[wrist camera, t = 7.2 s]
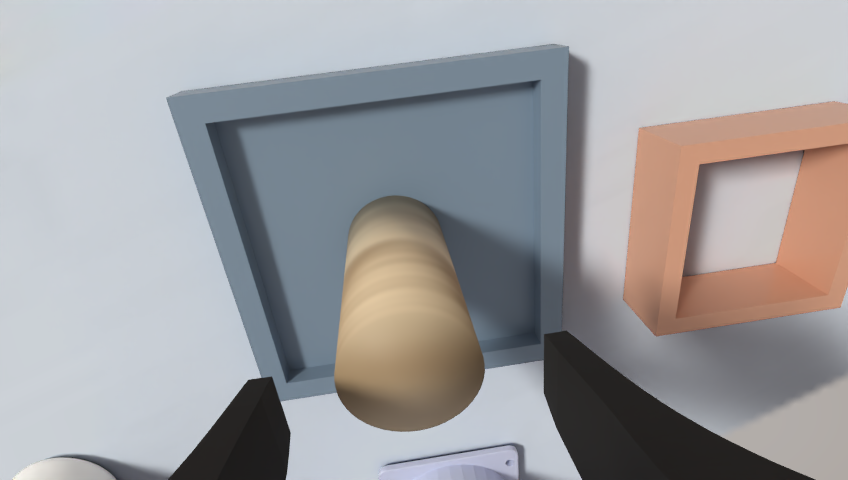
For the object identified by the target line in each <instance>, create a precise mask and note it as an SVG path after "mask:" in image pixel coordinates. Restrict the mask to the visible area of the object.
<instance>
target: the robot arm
mask: <svg viewBox="0 0 848 480" xmlns="http://www.w3.org/2000/svg"><path fill="white" fill-rule="evenodd" d="M544 394H545V397H546V400H547V403H548V406H549V409H550V411H551V414H552V417H553V420H554V422H555V425H556V428H557V430H558V432H559V434H560V436H561V438H562V440H563V442H564V444H565V446H566V448H567V450H568V452H569V454H570V456H571V458H572V460H573V462H574V464H575V466H576V468H577V470H578V472H579V474H580V476H581V478H582V480H815V479H813V478H810V477H808V476H805V475H803V474H800V473H798V472H795V471H793V470H791V469H789V468H786V467H784V466H781V465H779V464H777V463H775V462H772V461H770V460H768V459H766V458H764V457H761V456H759V455H757V454H755V453H753V452H751V451H748V450H747V449H745V448H743V447H740V446H738V445H736V444H734V443H732V442H730V441H728V440H726V439H724V438H722V437H720V436H719V435H717V434H715V433H713V432H711V431H709V430H707V429H706V428H704V427H702V426H700V425H699V424H697V423H695V422H693V421H692V420H690V419H688V418H686V417H685V416H683V415H681V414H679V413H678V412H676V411H675V410H673V409H671V408H670V407H668V406H667V405H665V404H663V403H662V402H660V401H659V400H657V399H656V398H654V397H653V396H651V395H650V394H648V393H647V392H645V391H644V390H642V389H641V388H640V387H638V386H637V385H635V384H634V383H633V382H631V381H630V380H629V379H627V378H626V377H625V376H623V375H622V374H621V373H619V372H618V371H617V370H615V369H614V368H613V367H611V366H610V365H609V364H607V363H606V362H605V361H604V360H602V359H601V358H600V357H599V356H597V355H596V354H595V353H594V352H592V351H591V350H590V349H589V348H587V347H586V346H585V345H584V344H583V343H581V342H580V341H579V340H578V339H576V338H575V337H574V336H573V335H571V334H570V333H569V332H567V331H561V332H555V333H548V334H544ZM290 434H291V433H290V430H289V427H288V424H287V421H286V418H285V415H284V411H283V408H282V405H281V402H280V399H279V396H278V393H277V390H276V387H275V384H274V381H273V378H272V376H271V377H264V378H258V379H251V380H248V381H247V383H246V384H245V385H244V386H243V388H242V389H241V390H240V391H239V393H238V394H237V395H236V397H235V398H234V399H233V400H232V402H231V403H230V404H229V406H228V407H227V408H226V410H225V411H224V412H223V414H222V415H221V416H220V417H219V419H218V420H217V421H216V423H215V424H214V425H213V426H212V428H211V429H210V430H209V431H208V433H207V434H206V435H205V436H204V438H203V439H202V440H201V442H200V443H199V444H198V445H197V447H196V448H195V449H194V450H193V451H192V453H191V454H190V455H189V456H188V457H187V458H186V460H185V461H184V462H183V463H182V464H181V465H180V467H179V468H178V469H177V470H176V471H175V472H174V473H173V475H172V476H171V477H170V478H169V479H168V480H286V475H287V467H288V458H289V446H290ZM379 480H519V467H518V453H517V450H516V448H515V447H514V446H511V445H507V446H501V447H495V448H489V449H483V450H477V451H471V452H465V453H459V454H453V455H447V456H441V457H435V458H429V459H423V460H417V461H411V462H404V463H398V464H392V465H386V466H383V467H382V468H380V469H379Z"/></svg>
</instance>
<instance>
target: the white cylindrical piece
mask: <svg viewBox="0 0 848 480" xmlns="http://www.w3.org/2000/svg"><path fill="white" fill-rule="evenodd" d="M12 480H117V479H116V478H115V477H114V476H113V475H112V474H111V473H110V472H108V471H107V470H106V469H104V468H102V467H101V466H99V465H97V464H94V463H92V462H89V461H86V460H82V459H76V458H66V457H60V458H50V459H45V460H41V461H38V462H35V463H33V464H31V465H29V466H27V467H25V468H24V469H22V470H21V471H20V472H19V473H17V474H16V475H15V477H14V478H13V479H12Z"/></svg>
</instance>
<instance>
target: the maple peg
mask: <svg viewBox="0 0 848 480" xmlns="http://www.w3.org/2000/svg"><path fill="white" fill-rule="evenodd" d="M484 373H485V363H484V357H483V354H482V351H481V348H480V345H479V342H478V339H477V336H476V333H475V330H474V327H473V324H472V321H471V318H470V315H469V312H468V309H467V306H466V303H465V299H464V296H463V293H462V290H461V287H460V284H459V281H458V278H457V275H456V272H455V269H454V266H453V263H452V260H451V257H450V254H449V251H448V248H447V245H446V242H445V239H444V236H443V233H442V230H441V227H440V224H439V221H438V219H437V217H436V216H435V214H434V213H433V212H432V211H431V210H430V208H428V207H427V206H426V205H425V204H423V203H422V202H420V201H418V200H416V199H414V198H410V197H406V196H397V195H394V196H386V197H382V198H379V199H376V200H374V201H372V202H370V203H368V204H367V205H365V206H364V207H363V208H362V209H361V210H360V211H359V212H358V213H357V214H356V216H355V217H354V219H353V221H352V223H351V225H350V229H349V234H348V243H347V253H346V263H345V273H344V283H343V292H342V302H341V312H340V322H339V332H338V342H337V352H336V362H335V372H334V382H335V388H336V391H337V394H338V396H339V398H340V400H341V402H342V403H343V405H344V406H345V407H346V409H347V410H348V411H349V412H350V413H352V414H353V415H354V416H355V417H357V418H358V419H359V420H361V421H363V422H365V423H367V424H369V425H371V426H374V427H377V428H380V429H384V430H390V431H400V432H406V431H418V430H423V429H428V428H431V427H435V426H438V425H440V424H442V423H445V422H447V421H448V420H450V419H452V418H454V417H455V416H457V415H458V414H460V413H461V412H462V411H463V410H464V409H465V408H467V407H468V405H469V404H470V403H471V402H472V401H473V400H474V398H475V397H476V395H477V394H478V392H479V390H480V388H481V385H482V382H483V379H484Z"/></svg>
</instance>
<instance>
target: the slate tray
mask: <svg viewBox="0 0 848 480" xmlns="http://www.w3.org/2000/svg"><path fill="white" fill-rule="evenodd" d="M568 60H569V46H563V45H557V44H550V45H542V46H535V47H527V48H519V49H511V50H503V51H495V52H487V53H479V54H472V55H464V56H456V57H448V58H440V59H432V60H424V61H416V62H409V63H401V64H393V65H385V66H377V67H369V68H361V69H354V70H346V71H338V72H330V73H322V74H314V75H306V76H298V77H291V78H283V79H275V80H267V81H259V82H251V83H243V84H235V85H228V86H220V87H212V88H204V89H196V90H188V91H181V92H179V93H177V94H174V95H172V96H169V97H167V98H166V99H167V102H168V105H169V108H170V111H171V114H172V117H173V120H174V123H175V126H176V128H177V131H178V134H179V137H180V140H181V143H182V146H183V149H184V152H185V155H186V158H187V161H188V164H189V167H190V169H191V172H192V175H193V178H194V181H195V184H196V187H197V190H198V193H199V196H200V199H201V202H202V205H203V208H204V210H205V213H206V216H207V219H208V222H209V225H210V228H211V231H212V234H213V237H214V240H215V243H216V246H217V249H218V251H219V254H220V257H221V260H222V263H223V266H224V269H225V272H226V275H227V278H228V281H229V284H230V287H231V290H232V292H233V295H234V298H235V301H236V304H237V307H238V310H239V313H240V316H241V319H242V322H243V325H244V328H245V331H246V333H247V336H248V339H249V342H250V345H251V348H252V351H253V354H254V357H255V360H256V363H257V366H258V369H259V371H260V374H261V377H262V378H264V377H271V376H272V378H273V381H274V384H275V387H276V390H277V393H278V396H279V399H280V401H286V400H292V399H299V398H305V397H311V396H318V395H324V394H330V393H337V391H336V388H335V382H334V372H335V362H336V352H337V342H338V332H339V322H340V312H341V302H342V292H343V283H344V273H345V263H346V253H347V243H348V234H349V229H350V225H351V223H352V221H353V219H354V217H355V216H356V214H357V213H358V212H359V211H360V210H361V209H362V208H363V207H364V206H365V205H367V204H368V203H370V202H372V201H374V200H376V199H379V198H382V197H386V196H394V195H397V196H406V197H410V198H414V199H416V200H418V201H420V202H422V203H423V204H425V205H426V206H427V207H428V208H430V210H431V211H432V212H433V213H434V214H435V216H436V217H437V219H438V221H439V224H440V227H441V230H442V233H443V236H444V239H445V242H446V245H447V248H448V251H449V254H450V257H451V260H452V263H453V266H454V269H455V272H456V275H457V278H458V281H459V284H460V287H461V290H462V293H463V296H464V299H465V303H466V306H467V309H468V312H469V315H470V318H471V321H472V324H473V327H474V330H475V333H476V336H477V339H478V342H479V345H480V348H481V351H482V354H483V357H484V363H485V369H489V368H495V367H502V366H508V365H515V364H521V363H527V362H534V361H540V360H544V334H548V333H555V332H561V331H562V300H563V260H564V220H565V180H566V140H567V100H568Z"/></svg>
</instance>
